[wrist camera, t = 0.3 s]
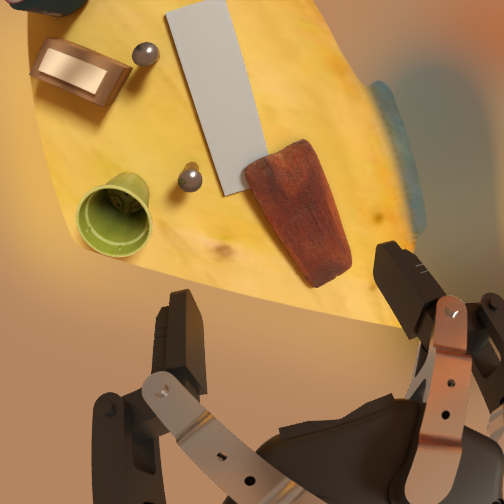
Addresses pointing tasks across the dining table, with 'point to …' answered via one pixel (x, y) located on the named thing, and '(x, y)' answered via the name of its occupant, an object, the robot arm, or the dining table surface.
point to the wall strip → (219, 88)
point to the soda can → (47, 6)
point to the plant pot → (116, 216)
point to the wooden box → (80, 71)
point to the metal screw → (145, 54)
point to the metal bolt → (190, 178)
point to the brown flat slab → (301, 210)
